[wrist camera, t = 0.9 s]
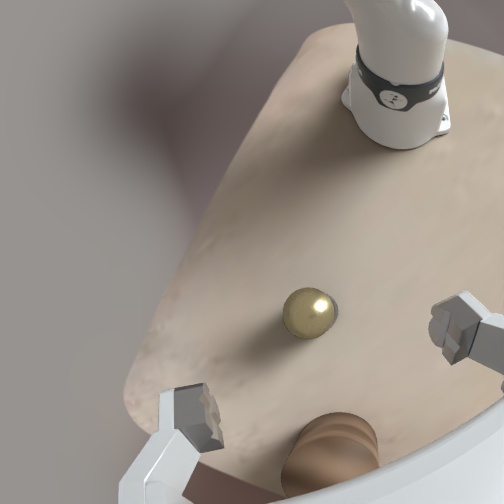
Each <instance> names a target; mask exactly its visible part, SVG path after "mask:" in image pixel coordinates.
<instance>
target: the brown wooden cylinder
mask: <svg viewBox="0 0 504 504" xmlns="http://www.w3.org/2000/svg"><path fill="white" fill-rule="evenodd" d="M377 468H379V457H378V447H377V438H376V435H375V432H374V430H373V429H372V427H371V426H370V425H369V424H368V423H367V422H366V421H365V420H364V419H362V418H360V417H358V416H356V415H353V414H350V413H343V412H336V413H329V414H325V415H322V416H320V417H318V418H316V419H314V420H313V421H311V422H310V423H309V424H308V425H307V426H306V427H305V428H304V429H303V431H302V432H301V434H300V436H299V438H298V440H297V441H296V443H295V445H294V447H293V449H292V451H291V453H290V454H289V456H288V458H287V460H286V462H285V464H284V466H283V469H282V473H281V483H282V487H283V489H284V492H285V493H286V495H287V496H288V498H292V497H296V496H300V495H303V494H307V493H310V492H314V491H317V490H320V489H323V488H326V487H329V486H332V485H335V484H338V483H341V482H344V481H347V480H350V479H352V478H355V477H358V476H360V475H363V474H365V473H368V472H370V471H373V470H375V469H377Z"/></svg>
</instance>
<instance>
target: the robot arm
mask: <svg viewBox="0 0 504 504" xmlns="http://www.w3.org/2000/svg"><path fill="white" fill-rule="evenodd" d="M343 1H344V2H345V4H346V5H347V6H348V8H349V9H350V12H351V14H352V16H353V19H354V23H355V27H356V32H357V37H358V45H357V49H356V63H355V62H354V63H353V65H352V71H351V72H349V84H348V86H347V87H346V89H345V91H344V92H343V94H342V96H341V101H342V103H343V104H344V105H345V106H346V107H347V108H348V109H349V110H350V111H351V112H352V113H353V115H354V118H355V120H356V122H357V124H358V126H359V127H360V129H361V130H362V131H363V132H364V133H365V134H366V135H367V136H368V137H369V138H371V139H372V140H374V141H375V142H377V143H379V144H381V145H383V146H386V147H390V148H394V149H411V148H415V147H418V146H421V145H423V144H425V143H426V142H427V141H429V140H430V139H431V138H433V137H434V136H438V135H443V134H446V133H448V132H449V130H450V117H449V108H448V100H447V93H446V87H445V80H444V75H443V74H444V62H443V57H444V52H445V47H446V41H447V36H448V23H447V20H446V17H445V15H444V13H443V11H442V10H441V8H440V7H439V6H438V5H437V4H436V2H435V1H434V0H343ZM442 119H444V120H445V121H442ZM431 314H432V316H433V318H432V319H431V321H430V322H429V328H428V330H429V335H430V338H431V340H432V342H433V343H434V344H435V345H436V346H438V347H441V348H442V354H443V356H444V357H445V358H446V359H447V361H448V362H449V363H450V364H451V365H453V364H455V363H457V362H459V361H461V360H463V359H465V358H466V357H468V356H469V357H468V358H470V359H472V360H474V361H476V362H478V363H481V364H483V365H485V366H487V367H489V368H491V369H493V370H495V371H497V372H499V373H501V374H503V375H504V315H501V314H498V313H493V314H492V313H491V312H489V311H488V310H487V309H486V308H485V307H484V306H483V305H482V304H481V303H480V302H479V301H478V300H477V299H476V298H475V297H474V296H472V295H471V294H470V293H469V292H468V291H465V290H464V291H462V292H460V293H458V294H456V295H454V296H451V297H449V298H447V299H445V300H443V301H441V302H439V303H437V304H435V305H433V307H432V309H431ZM501 390H502V391H503V392H504V381H503V383H502V385H501ZM220 421H221V419H220V413H219V409H218V406H217V403H216V401H215V399H214V397H213V396H212V395H209V388H208V386H207V385H206V383H199V384H194V385H189V386H184V387H178V388H173V389H168V390H162V391H161V392H160V394H159V412H158V432H154V433H153V434H152V436H151V437H150V439H149V440H148V442H147V443H146V445H145V446H144V448H143V449H142V450H141V452H140V453H139V455H138V456H137V458H136V459H135V461H134V462H133V463H132V465H131V466H130V468H129V469H128V471H127V472H126V473H125V475H124V476H123V478H122V479H121V481H120V482H119V498H118V504H194V503H192V502H191V501H189V500H187V499H186V498H184V497H183V496H181V495H182V493H183V491H184V489H185V487H186V485H187V482H188V480H189V478H190V476H191V474H192V472H193V470H194V468H195V466H196V463H197V462H198V459H199V457H200V455H201V454H200V453H204V452H209V451H214V450H219V449H223V448H224V441H223V434H222V431H221V429H220V428H219V426H218V425H219V423H220ZM267 504H504V396H503V397H502V398H501V399H499V400H498V401H497V402H495V403H494V404H492V405H491V406H490V407H488V408H487V409H485V410H484V411H482V412H481V413H479V414H478V415H476V416H475V417H473V418H472V419H470V420H469V421H467V422H466V423H464V424H462V425H461V426H459V427H458V428H456V429H454V430H453V431H451V432H449V433H447V434H446V435H444V436H442V437H441V438H439V439H437V440H435V441H433V442H432V443H430V444H428V445H426V446H424V447H422V448H420V449H418V450H416V451H414V452H412V453H410V454H408V455H406V456H404V457H402V458H400V459H398V460H396V461H393V462H391V463H389V464H387V465H384V466H382V467H380V468H377V469H375V470H373V471H370V472H368V473H365V474H363V475H360V476H358V477H355V478H352V479H350V480H347V481H344V482H341V483H338V484H335V485H332V486H329V487H326V488H323V489H320V490H317V491H314V492H310V493H307V494H303V495H300V496H296V497H292V498H288V499H284V500H280V501H276V502H272V503H267Z"/></svg>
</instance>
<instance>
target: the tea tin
mask: <svg viewBox="0 0 504 504" xmlns="http://www.w3.org/2000/svg"><path fill="white" fill-rule="evenodd" d="M337 316H338V307H337V304H336V302H335V301H334V299H333V298H332V297H331V296H329V295H327V294H325V293H324V292H322V291H320V290H318V289H315V288H302V289H299V290H297V291H295V292H294V293H292V294H291V295H290V296H289V297H288V299H287V300H286V302H285V304H284V307H283V320H284V323H285V325H286V327H287V329H288V330H289V331H290V332H291V333H292V334H293V335H295V336H297V337H299V338H302V339H313V338H317V337H319V336H321V335H322V334H324V333H325V332H326V331H327V330H328V329H329V328H330V327H332V326H333V324H334V323H335V322H336V319H337Z"/></svg>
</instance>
